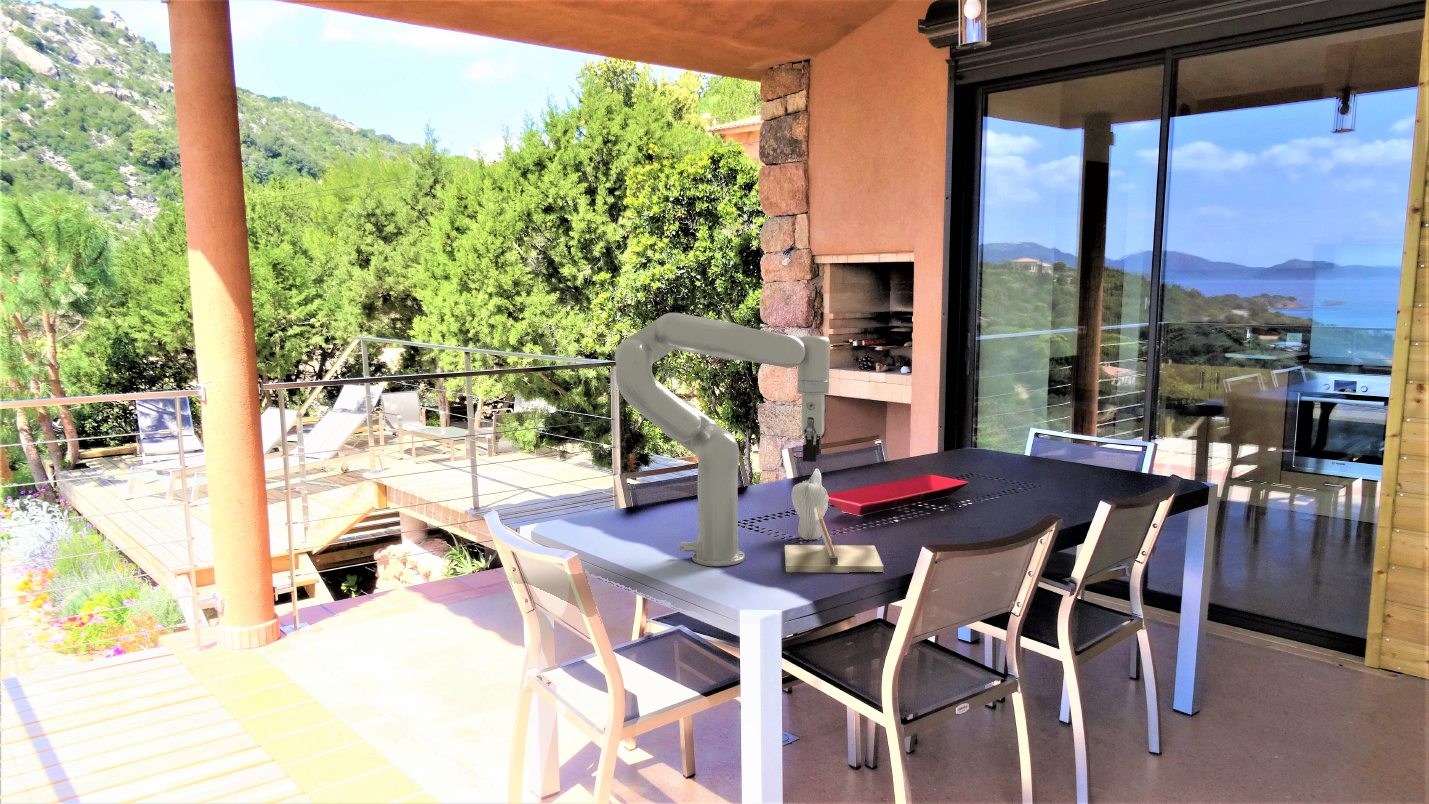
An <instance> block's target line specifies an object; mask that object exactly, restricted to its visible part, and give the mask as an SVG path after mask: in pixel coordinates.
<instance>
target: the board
mask: <svg viewBox="0 0 1429 804" xmlns="http://www.w3.org/2000/svg"><path fill="white" fill-rule="evenodd" d="M831 541H832V544H833V548H834V552H835V556H830V555H829V553H828V550H827V547H826V545H823V544H822V545H821V544H817V545H816V544H785V545H784V560H785V561H784V563H785V572H786V573H849V572H868V571H869V572H870V571H871V572H872V571H874V572H883V573H884V564H883V563H882V560H881V557H880V554H879V552H878V551H877V548H876V546H875V545H865V544H864V545H861V544H860V545H854V544H851V545H850V544H849V545H848V544H846V545H845V544H844V545H842V544H841V545H837V544H835V545H834V540H833V539H831Z"/></svg>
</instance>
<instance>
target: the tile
mask: <svg viewBox="0 0 1429 804" xmlns="http://www.w3.org/2000/svg"><path fill="white" fill-rule="evenodd" d="M814 511H815V516H816V521H817V523H818V526H819V529H820V531H821V537H822V539H823V542H824V544H825V545H826V547H827V550H828V553H829V555H830V556H835V552H834V548H833V545H834V543H833V544H832V541H831V540H832V539H831V537H830V534H829V531H828V529H827V526H826V523H825V521H824V517H822V515H821V512H820V509H819V506H818V507H815V508H814Z"/></svg>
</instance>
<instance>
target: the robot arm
mask: <svg viewBox="0 0 1429 804" xmlns="http://www.w3.org/2000/svg"><path fill="white" fill-rule="evenodd" d="M674 350H675V351H682V352H686V353H691V354H692V353H693V354H698V355H704V356H710V357H715V358H720V359H726V360H732V361H733V360H735V361H736V360H737V361H745V362H746V361H747V362H751V363H758V364H763V365H769V366H774V367H780V368H783V369H784V368H785V369H791V368H792V369H793V368H795V367H797V380H796V381H797V385H796V386H797V387H796V393H797V394H799V395H801V434H802V435H803V436H804V438H803V444H802V462H808V463H815V462H817V457H818V456H819V455H820V444H821V443H820V437H821V436H823V435H824V433H825V413H826V412H825V408H826V407H825V406H826V405H825V403H826V401H825V395H829V393H830V392H829V390H830V361H831V360H830V357H831V341H830V338H828V337H827V336H824V335H803V336H795V335H790V334H785V333H784V334H783V333H778V332H772V331H766V330H762V329H756V328H754V327H753V328H752V327H750V326H749V327H747V326H744V325H741V324H737V323H734V322H730V321H724V320H718V319H713V318H707V317H701V316H697V315H691V314H687V313H686V314H685V313H680V312H668V313H665V314H662V315H661V316H660V317H659V318H656V319H655V320H654V321H653V322H651V323H650V324H648V325H646V326H645V327H643V328H641V329H640V330H638V331H637V332H635V333H634V334H632V335H630V336H629V337H627V338H626V339H623V341H621V342H619V344H618V346H617V347H616V349H615V352H614V361H615V364H616V366H615V379H616V381H615V382H616V385H617V388H618V390H619V392H620V394H621V397H623V399H624V400H625V401H626V402H627V403H628V405H629V406H630V407H632V408H633V409H634V410H636V412H638V413H639V414H640V415H642V416H643V417H644V418H645V419H646V420H648V421H649V422H650V423H652V424H653V425H655V426H656V427H657V428H658V429H659V430H661V431H662V432H663V434H665V436H667V437H668V438H670V439H672V440H674V441H675V442H676V443H678V444H680V445H681V446H682V447H683V448H685V449H686V450H687V451H689V452H690V453H691V454H693V456H696V457H697V460H698V463H697V464H698V465H697V466H698V467H697V525H698V530H697V531H698V534H697V535H698V536H697V540H692V541H691V542H690V541H689V542H688V541H680V544H679V548H680V551H683V552H686V553H690V552H693V553H692V555H691V557H692V561H693V562H694V563H695V564H698V565H702V566H707V567H708V566H709V567H726V566H727V567H728V566H733V565H737V564H740V563H742V562H743V561H744V560H746V559H745V555H746V554H745V553H744V551H742V550H739V508H738V507H739V503H738V502H739V501H738V500H739V499H738V479H739V478H738V476H739V474H738V473H739V463H740V449H739V445H738V444H739V443H738V442H737V440H736V438H735V437H734V436H733V434H732V433H731V432H729V431H728V430H727V429H725V428H723V427H722V426H721V425H720V424H718V423H717V422H715V421H714V419H712V418H710V417H709V416H708V415H706V414H705V413H703V412H702V411H701V410H699V409H698V408H697V407H695V406H694V405H693V404H692V403H690V402H689V401H688V400H686V399H684V398H680V397H679V395H676V394H675V393H674V392H672V391H671V390H670V389H669V388H667V387H666V386H665V385H664V384H662V383H661V382H660V381H659V380H657V378H656V377H655V375H654V373H653V364H654V363H656V362H657V361H659V360H661V359H662V358H664V357H665V356H667V355H668V354H669V353H671V352H672V351H674Z"/></svg>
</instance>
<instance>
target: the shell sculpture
mask: <svg viewBox="0 0 1429 804" xmlns="http://www.w3.org/2000/svg"><path fill="white" fill-rule="evenodd" d="M790 495H791V501H792V506H793V508H794V510H795V512H796V514H797V515H798V517H799V521H798V528H797V529H798V530H797V533H798V535H799V537H800V538H801V539H802V540H806V541H809V540H810V541H812V540H818V539H820V538H821V537H822V534H821V531H820V529H819V526H818V523H817V521H816V516H815V511H814V508H815V507H818V506H819V509H820V512H821V515H822V517H823V518H824V516H825V514H826V513H827V510H828V508H829V503H828V502H829V500H830V497H829V495H828V490H826V488H825V487H824V486H823V485H822V473H821V471H820V469H819V468H815V469H814V471H813V472H812V474H811V476H810V479H807V480H806V479H805V481H804V480H802V482H799V483H796V484H795V485H794V486H793V487H792V489H791V494H790ZM808 539H809V540H808Z"/></svg>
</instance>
